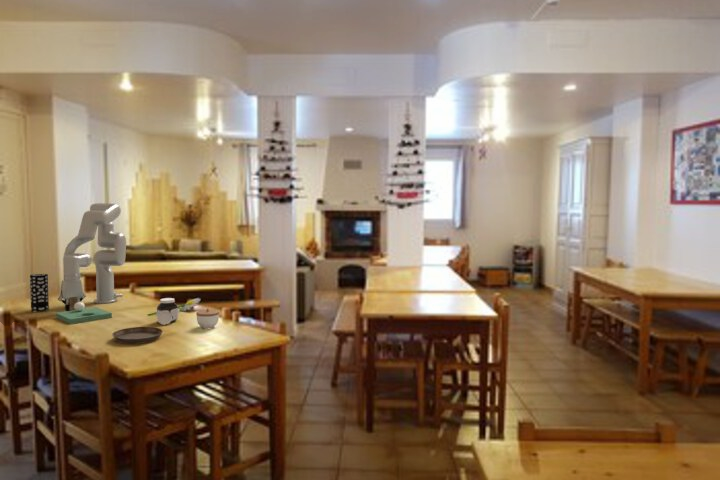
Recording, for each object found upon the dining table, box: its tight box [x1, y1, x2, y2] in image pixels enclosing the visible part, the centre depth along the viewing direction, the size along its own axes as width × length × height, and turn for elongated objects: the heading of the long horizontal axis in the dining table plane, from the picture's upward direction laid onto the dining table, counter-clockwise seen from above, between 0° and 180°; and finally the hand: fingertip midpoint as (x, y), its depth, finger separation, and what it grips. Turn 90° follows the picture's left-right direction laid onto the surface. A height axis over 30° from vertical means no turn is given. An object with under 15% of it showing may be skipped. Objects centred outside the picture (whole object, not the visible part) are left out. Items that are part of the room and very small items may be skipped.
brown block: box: [69, 297, 78, 311], centre depth 268 cm, size 4×5×9 cm
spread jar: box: [156, 297, 179, 326], centre depth 251 cm, size 12×11×12 cm
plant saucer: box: [111, 326, 164, 345], centre depth 221 cm, size 21×21×3 cm
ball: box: [74, 301, 86, 311], centre depth 262 cm, size 5×5×5 cm
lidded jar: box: [195, 308, 220, 329], centre depth 243 cm, size 11×11×9 cm
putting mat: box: [55, 307, 113, 325], centre depth 258 cm, size 20×20×2 cm
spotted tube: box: [29, 273, 50, 313], centre depth 273 cm, size 8×8×20 cm
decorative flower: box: [147, 297, 201, 317], centre depth 275 cm, size 13×5×30 cm
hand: (72, 310), depth 268 cm, fingers closed on brown block, 4 cm apart
